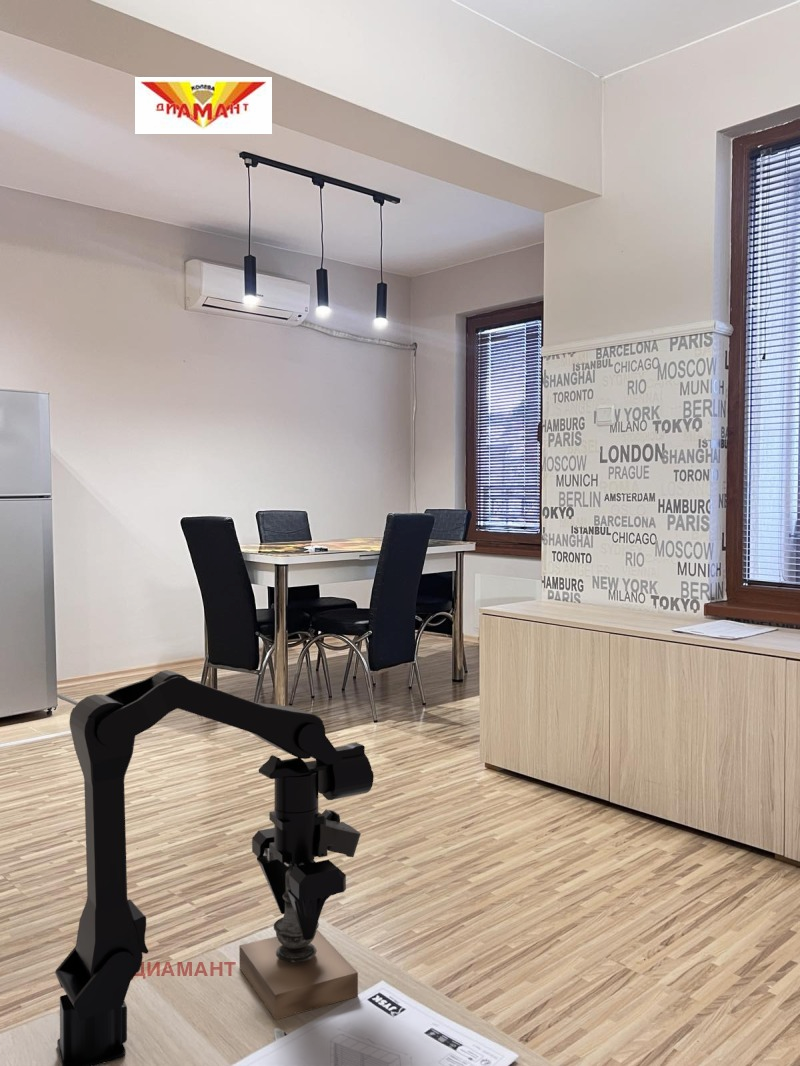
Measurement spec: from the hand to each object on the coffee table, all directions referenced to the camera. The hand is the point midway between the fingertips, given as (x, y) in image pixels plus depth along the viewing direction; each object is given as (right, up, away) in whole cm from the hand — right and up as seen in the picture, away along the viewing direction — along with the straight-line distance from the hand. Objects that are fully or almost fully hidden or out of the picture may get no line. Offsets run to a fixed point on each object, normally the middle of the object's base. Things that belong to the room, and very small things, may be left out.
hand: (296, 925), depth 112 cm
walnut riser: (0, -7, 0) cm, 7 cm away
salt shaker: (0, -4, 0) cm, 4 cm away
